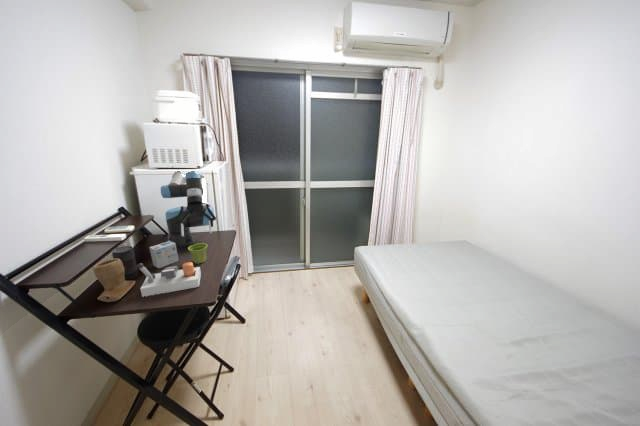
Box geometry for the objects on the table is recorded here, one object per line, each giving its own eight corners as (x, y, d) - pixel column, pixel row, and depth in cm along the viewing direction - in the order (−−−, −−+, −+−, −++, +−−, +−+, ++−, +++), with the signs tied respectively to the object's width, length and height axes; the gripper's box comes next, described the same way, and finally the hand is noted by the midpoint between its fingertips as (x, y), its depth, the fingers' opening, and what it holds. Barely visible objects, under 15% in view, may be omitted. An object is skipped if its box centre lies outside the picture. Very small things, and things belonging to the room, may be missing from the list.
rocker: (166, 271, 119) (165, 267, 119) (178, 270, 120) (177, 265, 120) (161, 277, 110) (160, 272, 110) (174, 274, 112) (173, 270, 112)
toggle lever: (150, 279, 115) (136, 263, 111) (156, 276, 115) (141, 261, 111) (149, 282, 112) (134, 266, 109) (154, 279, 113) (140, 263, 109)
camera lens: (116, 283, 119) (108, 253, 114) (121, 275, 126) (114, 247, 122) (137, 279, 122) (130, 250, 118) (141, 271, 129) (134, 244, 125)
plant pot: (202, 266, 134) (200, 251, 132) (186, 264, 136) (184, 249, 133) (212, 258, 143) (210, 243, 140) (198, 256, 145) (195, 242, 142)
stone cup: (111, 285, 117) (103, 255, 113) (139, 282, 119) (132, 253, 115) (88, 305, 103) (78, 272, 99) (120, 303, 105) (112, 270, 100)
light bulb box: (173, 257, 144) (169, 240, 140) (179, 261, 140) (176, 242, 137) (152, 265, 135) (148, 246, 132) (158, 269, 131) (154, 249, 128)
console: (149, 282, 119) (147, 271, 117) (200, 273, 126) (199, 263, 125) (142, 297, 108) (139, 284, 107) (198, 286, 116) (196, 275, 114)
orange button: (185, 274, 120) (183, 263, 118) (195, 272, 122) (193, 261, 120) (183, 279, 116) (181, 267, 114) (194, 277, 118) (192, 265, 116)
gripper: (167, 197, 135) (168, 235, 129) (217, 193, 143) (221, 229, 137) (170, 202, 142) (172, 239, 135) (218, 198, 150) (222, 233, 144)
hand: (196, 234), depth 136 cm, fingers open, 13 cm apart
